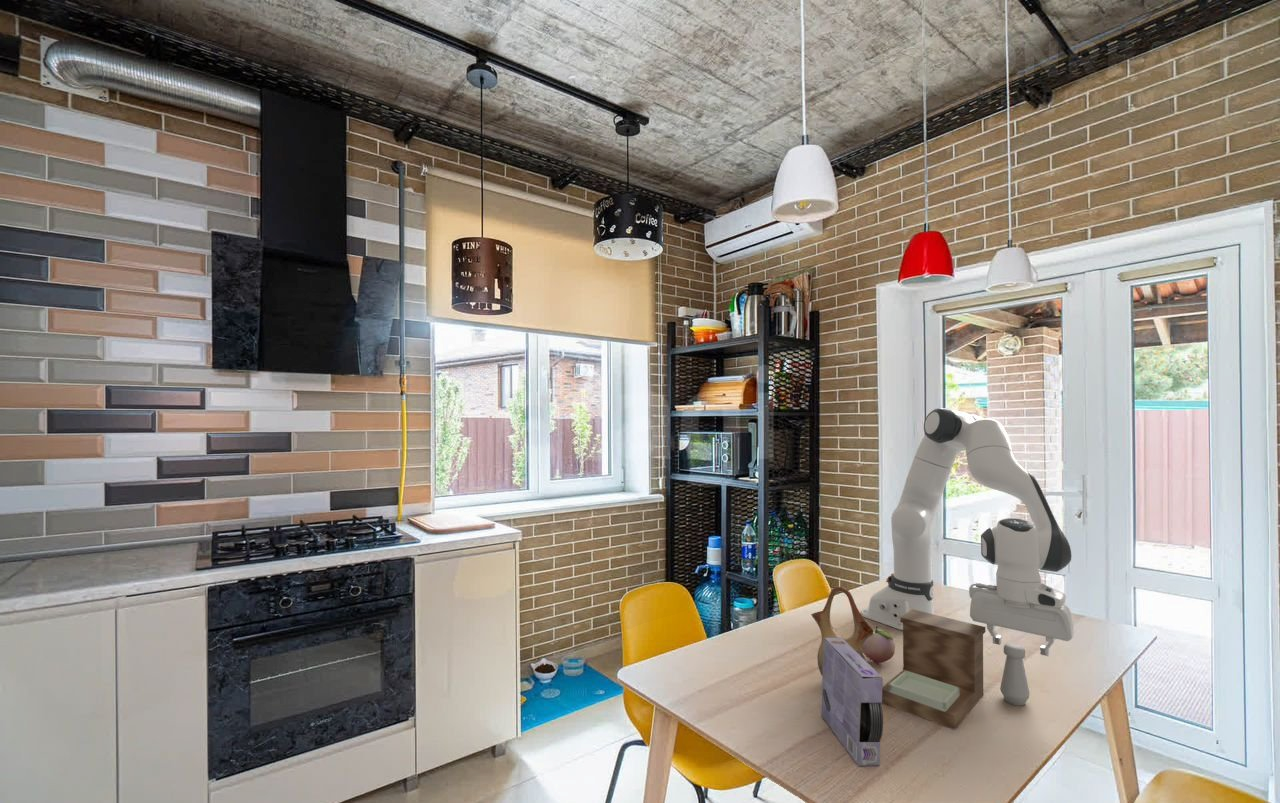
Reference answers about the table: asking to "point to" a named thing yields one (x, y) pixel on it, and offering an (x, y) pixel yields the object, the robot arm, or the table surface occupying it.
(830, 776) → the table surface
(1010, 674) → the salt shaker
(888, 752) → the table surface
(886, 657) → the decorative fruit
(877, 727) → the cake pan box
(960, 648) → the wooden stand
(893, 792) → the table surface
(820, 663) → the ceramic vessel
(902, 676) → the tray
